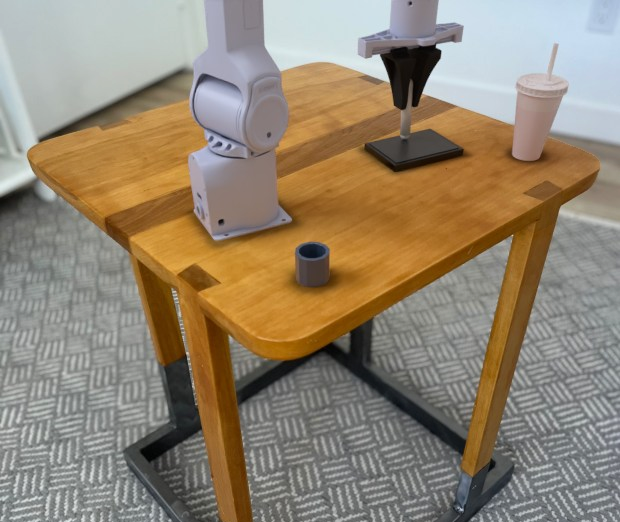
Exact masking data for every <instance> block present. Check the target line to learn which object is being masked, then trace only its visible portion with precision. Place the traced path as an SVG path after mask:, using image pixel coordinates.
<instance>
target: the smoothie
mask: <svg viewBox="0 0 620 522" xmlns="http://www.w3.org/2000/svg"><path fill="white" fill-rule="evenodd" d="M558 48H559V43H556V42H555V43H553V46H552V51H551V55H550V59H549V63H548V64H549V65H548V68H547V71H546V73H540V72H538V73H537V72H535V73H534V72H533V73H532V72H531V73H526V74H522V75H520V76H519V77H517V79H516V84H515V86H514V88H515V90H516V91H517V92H516V99H515V101H516V102H515V115H514V126H513V137H512V149H511V156H512V157H513V158H515V159H517V160H519V161H524V162H533V161H538V160H539V159H540V158H541V155H542V152H543V150H544V148H545V146H546V145H545V144H546V142H547V139H548V137H549V135H550V132H551V129H552V127H553V124H554V121H555V118H556V116H557V113H558V111H559V109H560V106H561V103H562V101H563V98H564V96H565V95H566V94H567V93H568V91H569V90H568V89H569V86H570V83H569V81H568V80H567V79H566V78H564V77H562V76H560V75H559V76H558V75H555V74H553V69H554V66H555V61H556V57H557V53H558Z"/></svg>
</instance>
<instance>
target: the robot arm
mask: <svg viewBox="0 0 620 522" xmlns="http://www.w3.org/2000/svg"><path fill="white" fill-rule="evenodd" d="M203 5H204V14H205V15H204V16H205V28H206V39H207V47H206V48H205V49H204V50H203V51H202V52H201V53H200V54H199V55H197V56H196V58H195V59H193V61H192V69H193V80H192V85H191V89H190V93H189V99H188V101H189V102H188V103H189V104H188V106H189V111H190V115H191V117H192V119H193V121H194V122H195V123H196V124H197V126H198V127H200V128H201V129H203V134H204V140H206V141H207V144H206V145H205V146H204V147H202V148H200V149H199V150H196V151H193V152H190V153H189V154H188V158H187V166H188V173H189V174H188V175H189V181H190V186H191V187H190V188H191V193H192V200H193V206H194V209H193V213H194V215H195V216H196V217H197V219H198V220H199V221H200V223H201V224H202V226H203V227H204V229H205V230H206V231H207V232H208V234H209V235H210V237H211V238H212V239H213V240H214V242H222V241H226V240H229V239H234V238H238V237H241V236H245V235H249V234H252V233H256V232H260V231H263V230H268V229H272V228H275V227H279V226H283V225H287V224H290V223H291V224H292V222H293V218H292V217H291V216H290V215H289V214H288V213H287V212H286V210H284V209H283V208H282V206H281V205H280V204H279V191H278V171H277V170H278V169H277V155H276V153H277V151H276V149H277V148H279V147H280V142H281V141H282V140H283V138H284V136H285V134H286V132H287V129H288V125H289V120H290V108H289V104H288V101H287V98H286V96H285V94H284V91H283V84H282V81H283V80H282V79H283V77H282V76H283V75H282V71H281V69H279V67H278V65H277V63H276V61H275V60H274V59H273V57H272V56H271V54H270V53H269V51H268V49H267V48H266V46H265V44H266V43H265V19H264V17H265V15H264V14H265V13H264V0H203ZM438 9H439V0H391V1H390V15H389V28H387V29H385V30H382V31H379V32H376V33H373V34H370V35H366V36H361V37H358V38H357V55H358V56H360V57H361V58H363V59H366V60H367V59H371V58H372V57H373V56H377V55H379V57H380V59H381V61H382V64H383V66H384V69H385V72H386V74H387V77H388V81H389V84H390V89H391V95H392V102H393V107H395V108H397V109H398V110H400V111H401V110H405V109H406V106H407V102H408V92H409V84H410V79H411V80H412V81H413V94H412V108H418V107H419V104H420V101H421V98H422V95H423V92H424V91H425V87H426V85H427V82H428V80H429V78H430V76H431V74H432V73H433V70H434V69H435V68H436V66H437V65H438V63H439V61H440V60H441V59H442V50H441V49H440V48H438V47H437V45H441V44H447V43H454V44H457V43H462V42H463V35H464V29H465V28H464V24H461V23H458V22H446V23H437V18H438Z"/></svg>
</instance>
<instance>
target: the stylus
mask: <svg viewBox="0 0 620 522" xmlns="http://www.w3.org/2000/svg"><path fill="white" fill-rule="evenodd" d="M412 94H413V81H412V80H411V79H410V84H409V92H408V102H407V106H406V109H405V110H400V123H399V124H400V126H399V127H400V128H399V136H400V137H401V138H402V139H404V140H406V139H408V138H409V137H410V133H411V128H412V127H411V126H412V112H413V111H412V108H413V107H412Z"/></svg>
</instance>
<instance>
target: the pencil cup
mask: <svg viewBox="0 0 620 522" xmlns="http://www.w3.org/2000/svg"><path fill="white" fill-rule="evenodd" d="M330 252H331V249H330V247H329V246H328V245H327V244H325V243H322V242H319V241H307V242H302V243H300V244H299V245H297V246H296V247H295V250H294V264H295V265H294V267H295V280H296V282H297V283H298V284H300V285H301V286H302V287H303V286H304V287H307V288H318V287H321V286H324V285H326V284H328V282H329V280H330V276H331V274H330V273H331V271H330V270H331V269H330V268H331V263H330V262H331V253H330Z"/></svg>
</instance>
